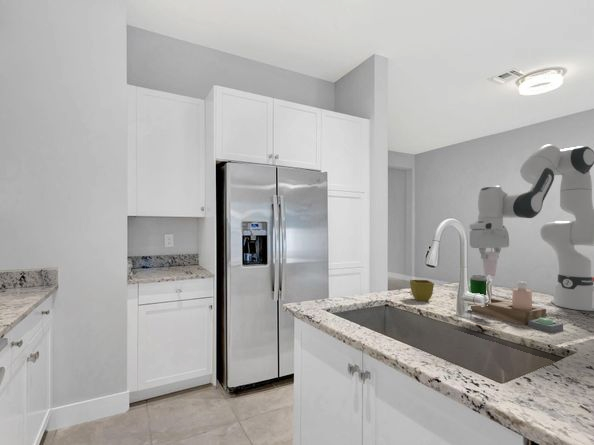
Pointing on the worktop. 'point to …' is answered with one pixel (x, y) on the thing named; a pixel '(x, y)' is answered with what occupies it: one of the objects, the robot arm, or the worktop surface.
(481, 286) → the soda can
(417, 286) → the flower pot
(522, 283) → the bottle
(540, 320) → the button
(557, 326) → the button housing
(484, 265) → the smoothie
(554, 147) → the robot arm
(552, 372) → the worktop surface
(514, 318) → the pallet
